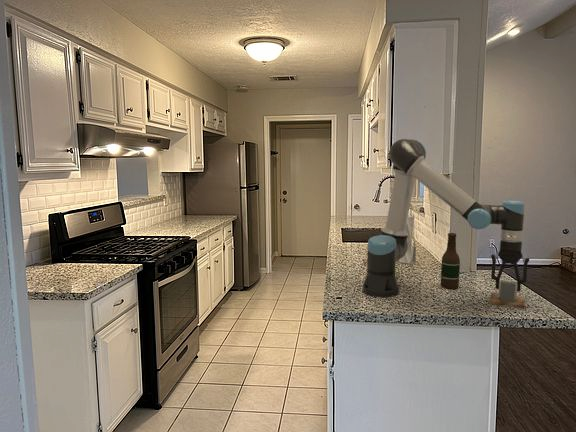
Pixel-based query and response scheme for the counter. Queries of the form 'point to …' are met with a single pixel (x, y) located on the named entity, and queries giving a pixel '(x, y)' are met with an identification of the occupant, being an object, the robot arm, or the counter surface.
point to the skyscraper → (409, 243)
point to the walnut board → (517, 303)
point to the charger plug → (507, 291)
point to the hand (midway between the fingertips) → (507, 297)
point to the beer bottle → (450, 265)
